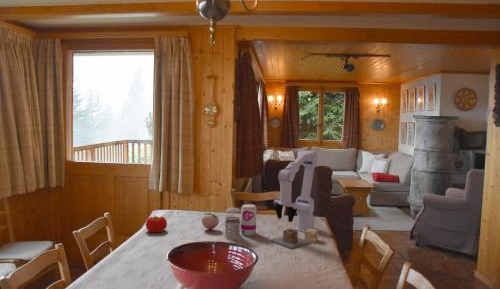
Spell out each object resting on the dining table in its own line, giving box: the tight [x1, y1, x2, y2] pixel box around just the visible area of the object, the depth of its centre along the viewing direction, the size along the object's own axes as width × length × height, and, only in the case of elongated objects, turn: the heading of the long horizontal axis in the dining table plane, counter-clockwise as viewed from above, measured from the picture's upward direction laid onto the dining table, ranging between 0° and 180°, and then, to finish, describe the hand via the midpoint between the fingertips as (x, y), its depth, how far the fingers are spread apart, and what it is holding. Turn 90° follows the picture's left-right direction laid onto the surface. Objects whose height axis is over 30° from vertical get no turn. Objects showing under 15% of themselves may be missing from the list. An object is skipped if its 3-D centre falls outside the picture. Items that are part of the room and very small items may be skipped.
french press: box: [222, 188, 243, 241], centre depth 190 cm, size 10×12×25 cm
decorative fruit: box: [201, 211, 220, 231], centre depth 202 cm, size 9×8×10 cm
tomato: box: [145, 215, 168, 233], centre depth 198 cm, size 11×11×8 cm
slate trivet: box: [269, 236, 311, 250], centre depth 185 cm, size 14×14×1 cm
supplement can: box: [240, 203, 258, 237], centre depth 197 cm, size 8×8×15 cm
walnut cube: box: [282, 228, 299, 243], centre depth 185 cm, size 5×5×5 cm
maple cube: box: [304, 229, 319, 243], centre depth 189 cm, size 5×5×5 cm
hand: (284, 220), depth 190 cm, fingers open, 7 cm apart
